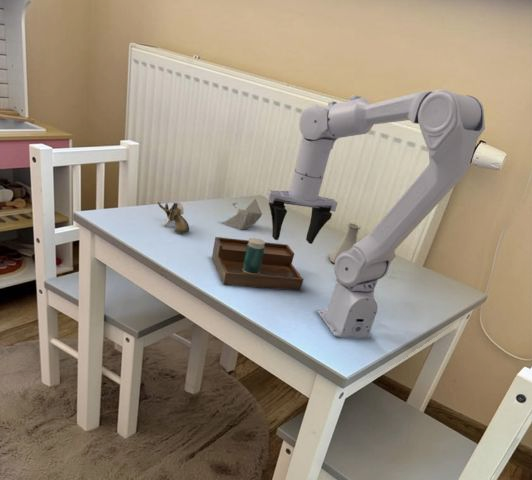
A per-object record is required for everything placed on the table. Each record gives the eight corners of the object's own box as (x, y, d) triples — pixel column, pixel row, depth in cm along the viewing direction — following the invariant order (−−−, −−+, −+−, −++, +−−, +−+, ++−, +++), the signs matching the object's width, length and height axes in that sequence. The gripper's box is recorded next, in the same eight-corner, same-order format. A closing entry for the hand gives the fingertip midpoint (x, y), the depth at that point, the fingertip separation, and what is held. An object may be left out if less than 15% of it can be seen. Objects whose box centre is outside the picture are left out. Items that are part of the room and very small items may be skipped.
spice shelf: (300, 290, 111) (306, 268, 108) (223, 284, 105) (227, 261, 102) (282, 265, 121) (287, 244, 118) (211, 258, 115) (215, 236, 112)
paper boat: (236, 229, 132) (213, 207, 135) (237, 243, 138) (215, 223, 141) (271, 204, 135) (247, 183, 138) (270, 219, 141) (248, 200, 144)
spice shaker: (261, 274, 108) (268, 245, 105) (244, 272, 107) (250, 243, 104) (256, 266, 111) (263, 238, 108) (240, 265, 110) (246, 236, 107)
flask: (355, 271, 128) (368, 233, 123) (327, 263, 129) (339, 225, 124) (356, 261, 134) (368, 225, 129) (330, 254, 135) (341, 217, 130)
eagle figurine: (148, 215, 126) (162, 222, 119) (164, 191, 126) (179, 196, 119) (171, 232, 131) (186, 240, 124) (187, 209, 131) (202, 215, 124)
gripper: (334, 173, 104) (317, 236, 111) (268, 162, 99) (254, 229, 106) (348, 183, 99) (329, 249, 106) (278, 172, 94) (263, 242, 101)
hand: (292, 240), depth 106 cm, fingers open, 7 cm apart
